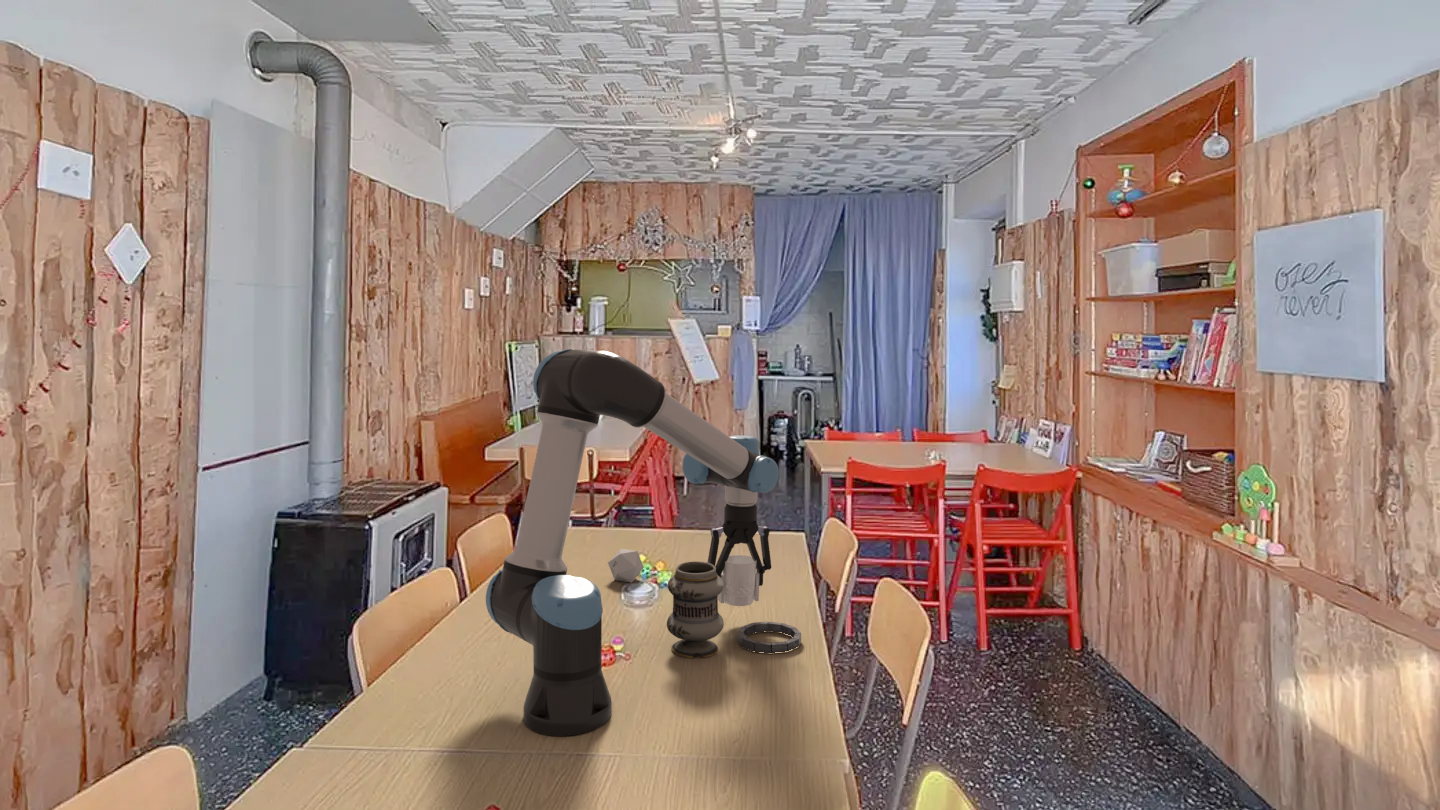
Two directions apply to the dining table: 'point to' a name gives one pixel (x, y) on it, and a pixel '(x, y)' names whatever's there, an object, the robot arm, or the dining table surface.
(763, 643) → the collar ring
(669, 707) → the dining table surface
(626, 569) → the die
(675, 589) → the apothecary jar
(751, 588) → the white cup
